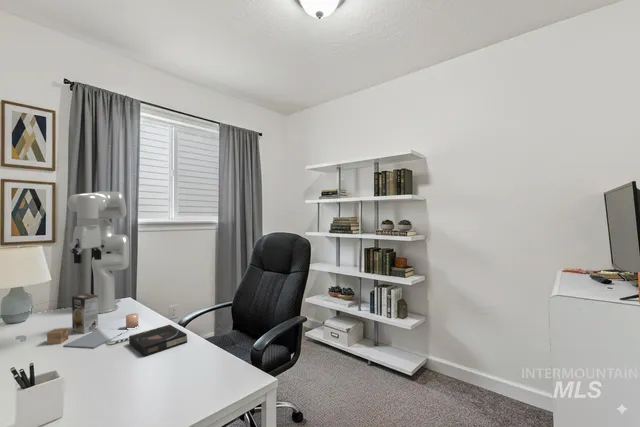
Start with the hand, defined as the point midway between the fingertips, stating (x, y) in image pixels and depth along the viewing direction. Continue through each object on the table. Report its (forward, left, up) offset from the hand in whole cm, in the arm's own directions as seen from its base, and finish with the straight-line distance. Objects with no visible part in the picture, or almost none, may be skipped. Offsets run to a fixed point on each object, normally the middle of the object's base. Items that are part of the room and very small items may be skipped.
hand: (88, 261), depth 133 cm
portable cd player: (+3, +36, -34) cm, 50 cm away
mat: (+2, +6, -33) cm, 34 cm away
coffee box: (-6, -8, -34) cm, 35 cm away
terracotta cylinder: (-11, +12, -33) cm, 37 cm away
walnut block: (+7, -8, -33) cm, 35 cm away
